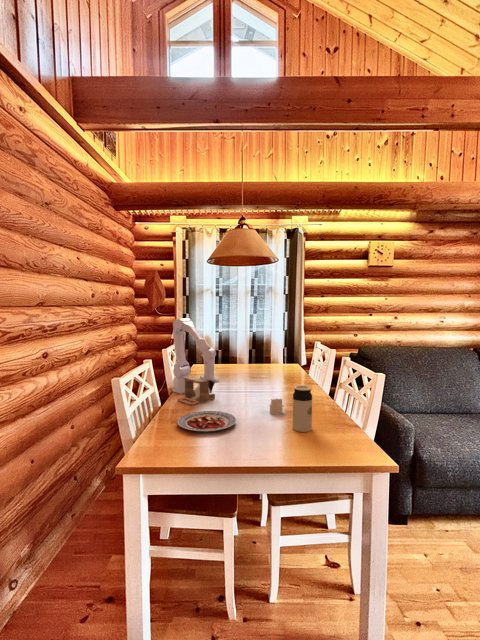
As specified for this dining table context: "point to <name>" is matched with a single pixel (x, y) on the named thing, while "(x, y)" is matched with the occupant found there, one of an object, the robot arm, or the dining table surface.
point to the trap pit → (188, 401)
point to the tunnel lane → (203, 389)
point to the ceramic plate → (206, 421)
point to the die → (198, 391)
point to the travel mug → (302, 408)
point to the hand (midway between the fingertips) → (209, 393)
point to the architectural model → (276, 406)
